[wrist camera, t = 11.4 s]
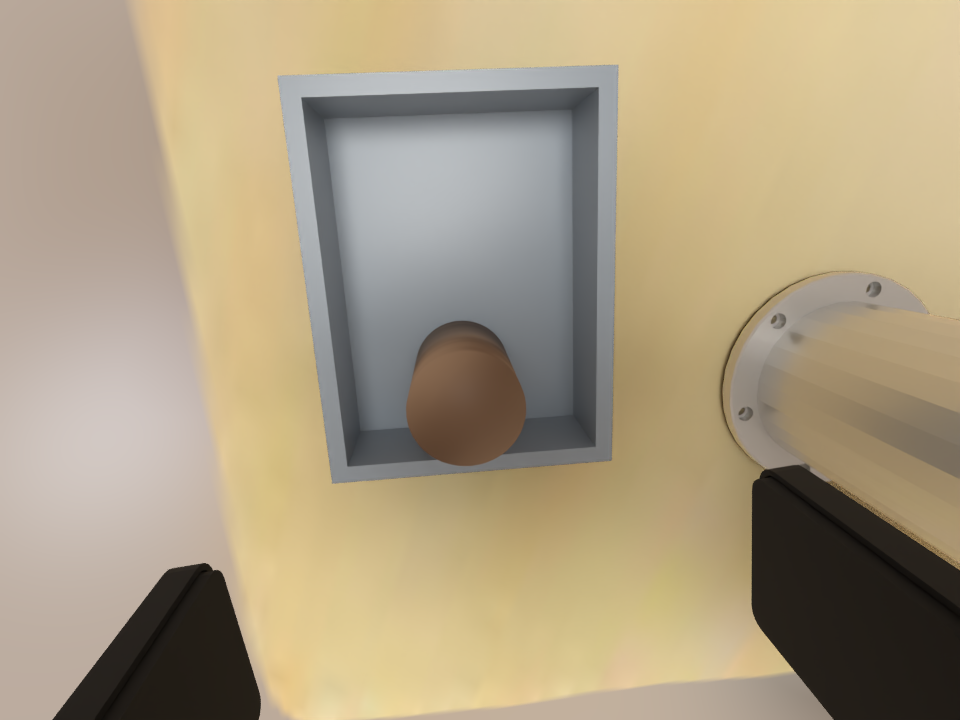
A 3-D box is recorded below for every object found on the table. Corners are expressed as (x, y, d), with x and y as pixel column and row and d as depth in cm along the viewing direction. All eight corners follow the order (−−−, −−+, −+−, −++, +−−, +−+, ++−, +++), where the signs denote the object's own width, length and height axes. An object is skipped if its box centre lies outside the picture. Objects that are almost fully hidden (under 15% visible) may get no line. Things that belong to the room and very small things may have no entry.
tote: (307, 103, 25) (277, 75, 20) (584, 93, 26) (618, 64, 21) (349, 441, 30) (332, 483, 25) (584, 423, 31) (611, 460, 26)
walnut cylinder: (526, 359, 29) (550, 403, 22) (468, 426, 29) (473, 487, 23) (456, 301, 28) (458, 328, 21) (397, 372, 28) (381, 419, 22)
